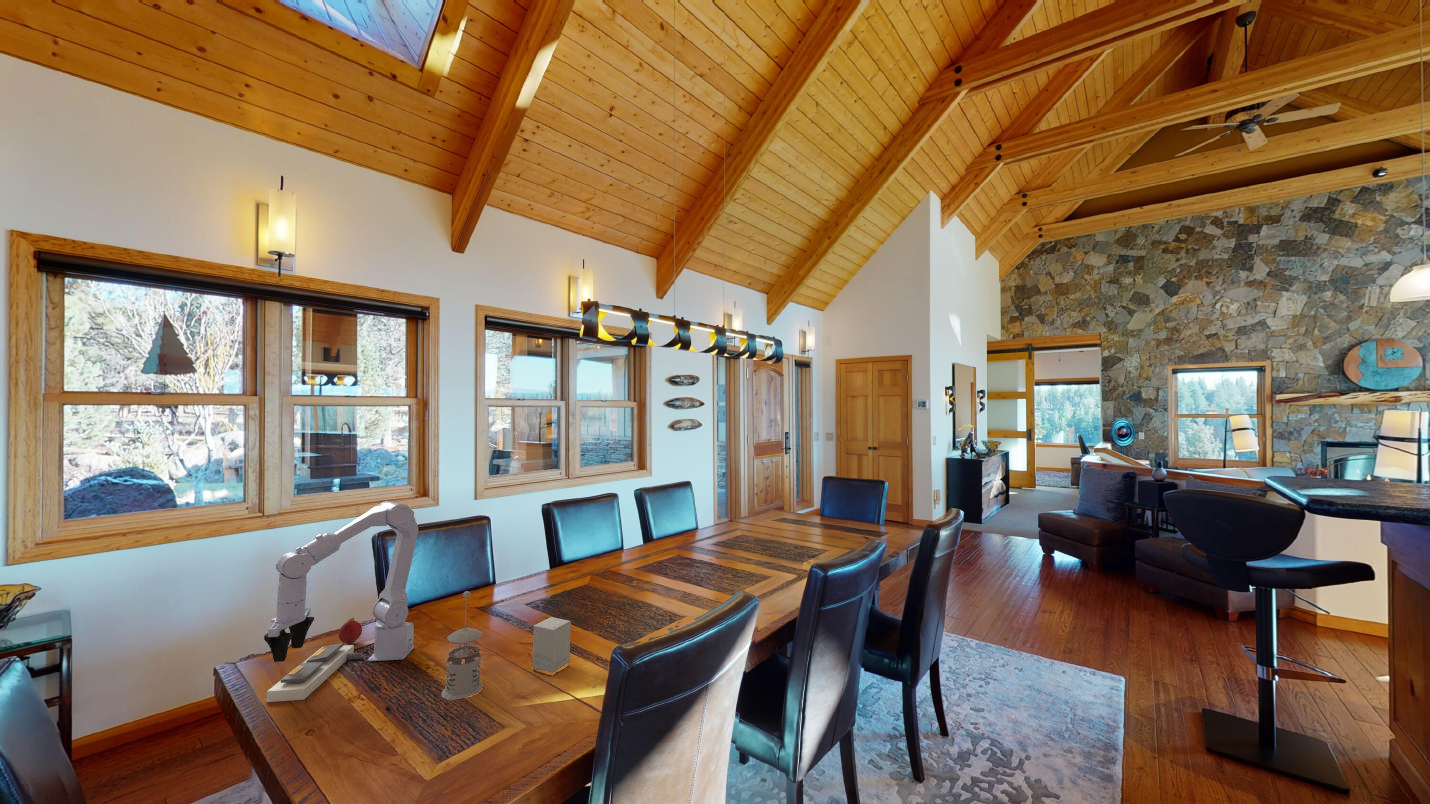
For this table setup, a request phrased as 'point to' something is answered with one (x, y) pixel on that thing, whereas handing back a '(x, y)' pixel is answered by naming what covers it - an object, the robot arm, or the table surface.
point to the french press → (465, 675)
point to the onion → (350, 631)
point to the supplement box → (551, 644)
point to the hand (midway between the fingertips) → (288, 654)
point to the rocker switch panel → (311, 677)
